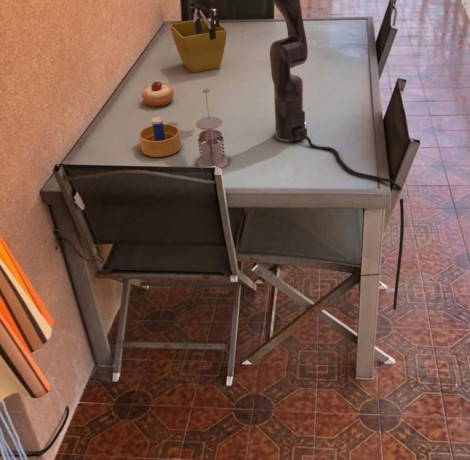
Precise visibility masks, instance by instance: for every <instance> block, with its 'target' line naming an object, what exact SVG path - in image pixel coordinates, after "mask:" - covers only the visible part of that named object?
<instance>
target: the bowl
mask: <svg viewBox="0 0 470 460" xmlns="http://www.w3.org/2000/svg"><path fill="white" fill-rule="evenodd" d="M163 128H164V135H165V140H162V141H155V138H154V131H153V125H149V126H146V127H144V128H142V129H141V130H140V131H139V133H138V139H139V144H140V145H139V146H140V151H141V153H142V154H144V155H145V156H148V157H154V158H160V157H161V158H162V157H167V156H171V155H174V154H176V153H177V152H178V151H180V149H181V148H182V138H181V131H180V129H179V127H178V126H176V125H175V124H170V123H163Z"/></svg>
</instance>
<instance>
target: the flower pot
mask: <svg viewBox="0 0 470 460" xmlns="http://www.w3.org/2000/svg"><path fill="white" fill-rule="evenodd" d="M209 19H211V18H209ZM200 22H201V26H202V33H200V34H196V31H195V23H194V22H193V20H187V21H182V22H176V23H170V24H169V27H170V31H171V34H172V38H173V41H174V45H175V47H176V50H177V53H178V56H179V58H180V60H181V61H182V64H183V65H184V66H185V67H186V68H187V70H188V71H189V72H190V73H191V74H195V73H199V72H204V71H209V70H215V69H219V68H220V67H221V64H222V61H223V57H224V54H225V48H226V40H227V32H228V31H227V30H228V29H227V28H226V27H224V26H223V25H222V23H220V22H219V27H216V39H213V40H210V38H209V27H208V25H207V23H205V21H204V20H203V19H201V21H200ZM215 23H216V20H215ZM210 24H211V22H210Z"/></svg>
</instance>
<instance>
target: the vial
mask: <svg viewBox="0 0 470 460" xmlns="http://www.w3.org/2000/svg"><path fill="white" fill-rule="evenodd" d="M150 121H151V124H152V125H153V131H154V138H155V141H162V140H165V135H164V128H163V124H164V119H163V117H159V116H157V117H153V118H151V119H150Z"/></svg>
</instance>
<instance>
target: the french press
mask: <svg viewBox="0 0 470 460" xmlns="http://www.w3.org/2000/svg"><path fill="white" fill-rule="evenodd" d="M209 92H210V89H209V88H207V87H204V88H203V89H202V93H204V94H205V99H206V101H208V93H209ZM208 104H209V103H208V102H206V109H207V110H206V111H209V105H208ZM222 124H223V120H222V119H220V118H219V117H217V116H210V115H209V112H207V115H206V116H204V117H201V118H200V119H198V120H197V121H196V122H195V126H196V127H197V128H198V129H200V130H203V131H201V132H200V133H198V139H197V142H198V143H197V144H198V151H199V159H198V161H197V166H198V167H199V168H201V167H212V166H216V167H220V169H222V168H224V167H226V166H227V165H228V163H229V159H228V158H227V157H226V154H225V143H224V137H223V134H222V132H221V131H220V130H217V128H219V127H220V126H221V125H222Z"/></svg>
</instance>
